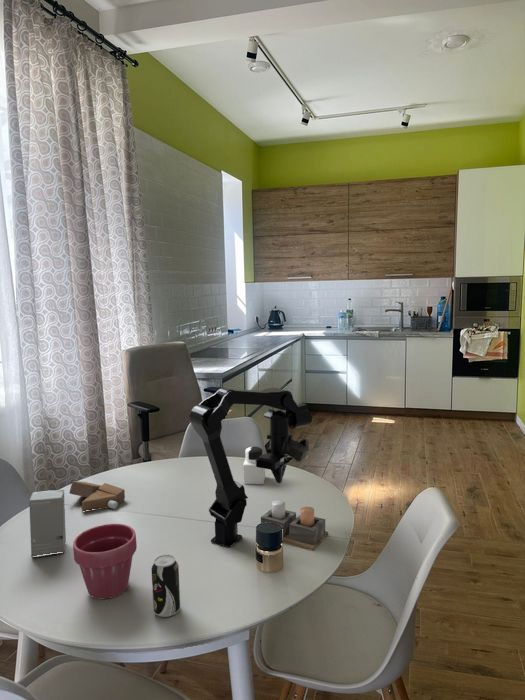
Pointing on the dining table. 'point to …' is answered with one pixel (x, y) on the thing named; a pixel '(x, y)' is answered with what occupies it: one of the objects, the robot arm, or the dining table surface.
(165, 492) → the dining table surface
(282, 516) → the white short rounded cylinder
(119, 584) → the plant pot
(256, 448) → the medicine bottle
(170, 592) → the beverage can
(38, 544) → the skincare box
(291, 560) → the dining table surface
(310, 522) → the terracotta plunger
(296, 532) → the double box holder
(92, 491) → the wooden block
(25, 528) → the dining table surface
